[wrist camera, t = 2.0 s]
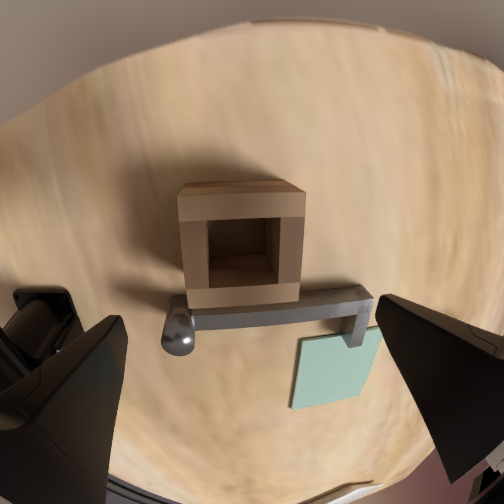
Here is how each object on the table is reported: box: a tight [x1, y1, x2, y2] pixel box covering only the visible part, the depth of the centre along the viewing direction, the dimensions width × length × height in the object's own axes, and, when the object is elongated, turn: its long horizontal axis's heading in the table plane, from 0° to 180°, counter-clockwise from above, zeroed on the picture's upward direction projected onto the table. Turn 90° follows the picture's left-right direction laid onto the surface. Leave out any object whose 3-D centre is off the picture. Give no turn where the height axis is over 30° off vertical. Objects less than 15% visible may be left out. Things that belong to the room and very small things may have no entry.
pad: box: [291, 326, 382, 410], centre depth 24 cm, size 8×10×1 cm
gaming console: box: [106, 473, 181, 504], centre depth 34 cm, size 30×27×5 cm
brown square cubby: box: [177, 181, 306, 309], centre depth 15 cm, size 6×6×4 cm
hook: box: [161, 285, 374, 356], centre depth 18 cm, size 15×5×4 cm, turn 90°
